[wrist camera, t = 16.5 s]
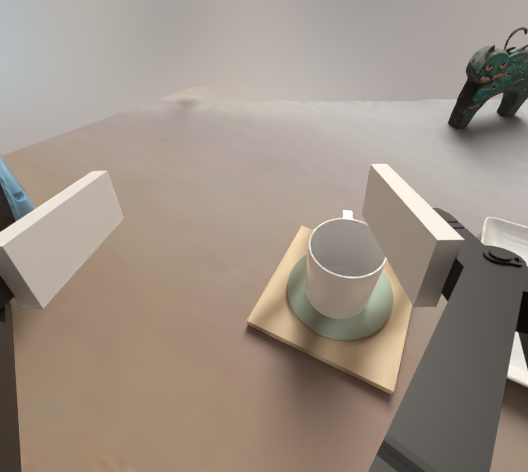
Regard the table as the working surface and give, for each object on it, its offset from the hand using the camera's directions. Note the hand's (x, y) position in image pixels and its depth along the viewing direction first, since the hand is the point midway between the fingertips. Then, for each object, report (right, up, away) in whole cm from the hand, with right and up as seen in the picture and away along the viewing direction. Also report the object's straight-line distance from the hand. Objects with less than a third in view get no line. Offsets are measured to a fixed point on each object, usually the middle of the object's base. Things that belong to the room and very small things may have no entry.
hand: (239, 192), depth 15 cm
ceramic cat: (+57, +28, +59) cm, 86 cm away
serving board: (+12, -11, +29) cm, 33 cm away
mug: (+12, -9, +27) cm, 31 cm away
